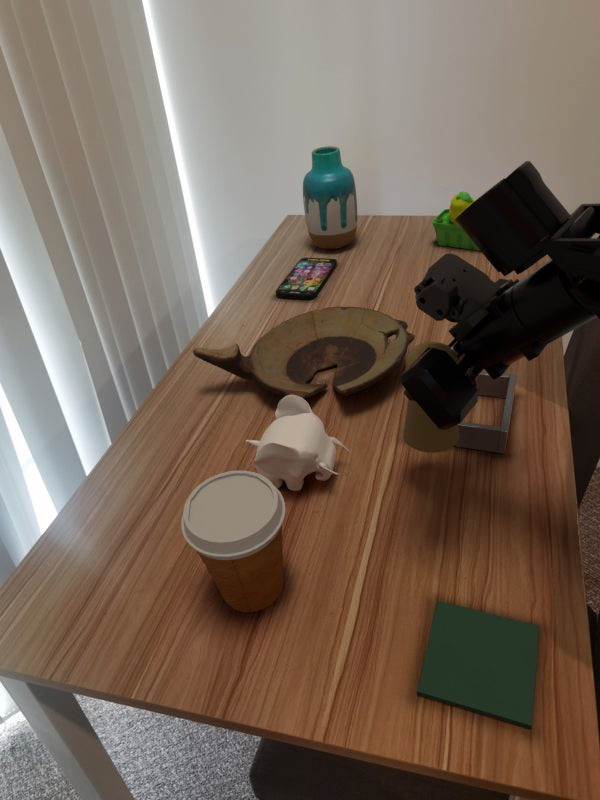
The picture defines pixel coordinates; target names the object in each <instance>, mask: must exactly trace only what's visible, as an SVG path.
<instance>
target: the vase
mask: <svg viewBox="0 0 600 800" xmlns="http://www.w3.org/2000/svg"><path fill="white" fill-rule="evenodd" d="M302 200H303V210H304V218H305V223H306V229H307V232H308V236H309V238H310V240H311V241H312V243H313V244H314V245H316V246H317V247H319V248H321V249H327V250H336V249H341V248H343V247H345V246H347V245H349V244H350V243H352V241H354V238H355V237H356V235H357V230H358V200H357V187H356V181H355V177H354V174H353V172H352V171H351V169H350V168H348V167H346V166H344V165H343V162H342V156H341V150H340V148H339V147H338V146H334V145H328V146H326V145H325V146H321V147H317V148H315V149H313V150H311V169H310V170H309V171H308V172H307V173H305V175H304V177H303V181H302Z"/></svg>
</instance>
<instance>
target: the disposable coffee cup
mask: <svg viewBox="0 0 600 800" xmlns="http://www.w3.org/2000/svg"><path fill="white" fill-rule="evenodd" d="M181 515H182V516H181V521H180V524H181V525H180V527H181V533H182V536H183V537H184V540H185V541H186V542H187V543H188V545H189V546H190V547H191V548H192V549H194V551H196V552H197V554H198V556H199V558H200V559H201V561H202V562H203V564H204V566H205V568H206V569H207V572H208V573H209V575H210V576H211V578H212V580H213V581H214V584H215V585H216V587H217V588H218V590H219V593H220V594H221V595H222V597H223V599H224V601H225V602H226V604H227V605H228V606H229V607H231V608H232V609H234V610H236V611H238V612H241V613H243V612H244V613H252V612H258V611H261V610H262V611H263V610H264V609H266V608H267V607H269V606H270V605H273V604H274V602H276V601H277V599H278V597H279V596H280V595H281V593H282V590H283V587H284V558H283V557H284V555H283V554H284V553H283V552H284V551H283V523H284V520H285V516H286V503H285V499H284V497H283V495H282V493H281V491H280V490H279V488H276V487H275V486H274V485H273V484H272V483H271V481H269V480H268V479H267V478H266V477H264V476H262V475H260V474H258V473H257V472H254V471H250V470H229V471H225V472H221V473H218V474H216V475H212V476H211V477H209V478H207V479H205V480H204V481H202V482H201V483H200V484H198V485H197V486H196V487H195V488H194V489H193V490H192V491H191V493H190V494H189V496H188V497H187V499H186V500H185V504H184V506H183V513H182V514H181Z"/></svg>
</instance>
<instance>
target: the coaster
mask: <svg viewBox="0 0 600 800" xmlns="http://www.w3.org/2000/svg"><path fill="white" fill-rule="evenodd" d="M539 637H540V625H539V624H535V623H530V622H526V621H522V620H519V619H514V618H510V617H506V616H502V615H497V614H494V613H489V612H486V611H481V610H478V609H473V608H470V607H466V606H461V605H458V604H453V603H448V602H444V601H440V600H437V601H436V605H435V609H434V614H433V618H432V623H431V628H430V633H429V636H428V641H427V645H426V649H425V654H424V659H423V663H422V667H421V672H420V676H419V679H418V685H417V690H416V694H417V696H421V697H424V698H427V699H431V700H433V701H437V702H440V703H444V704H447V705H449V706H453V707H457V708H460V709H464V710H466V711H470V712H473V713H477V714H480V715H483V716H485V717H490V718H493V719H496V720H500V721H504V722H507V723H511V724H512V725H516V726H520V727H523V728H526V729H530V730H531V729H532V726H533V716H534V703H535V691H536V676H537V664H538V652H539V639H540V638H539Z"/></svg>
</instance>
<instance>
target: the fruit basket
mask: <svg viewBox="0 0 600 800" xmlns="http://www.w3.org/2000/svg"><path fill="white" fill-rule="evenodd" d="M474 201H476V199H475V198H473V197H471V195H470V193H469V192H467V191H460V192H459V193H456V194H455V195H454V196H453V197H452V199H451V200H450V205H449V208H446V209H443V210H442V211H441V212H440V213H439V214H438V215H437V216H435V218H434V219H432V221H431V223H432V227H434V232H435V237H436V240H437V244H438V246H443V247H451V248H457V249H458V248H461V249H465V250H473V251H480V250H479V248H478V247H477V246H476V245H475V244H474V242H473V241H472V240H471V239H470V238H469V236H468V235H467V234H466V233H465V232H464V230H463V229H462V228H461V227H460V225H459V224H458V223H457V222H456V221H455V219H456V218H457V217H458V216H459V215H460V214H461V213H462V212H463V211H464V210H465V209H466V208H468V207H469V206H470V205H471V204H472V203H473V202H474ZM480 252H481V251H480Z"/></svg>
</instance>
